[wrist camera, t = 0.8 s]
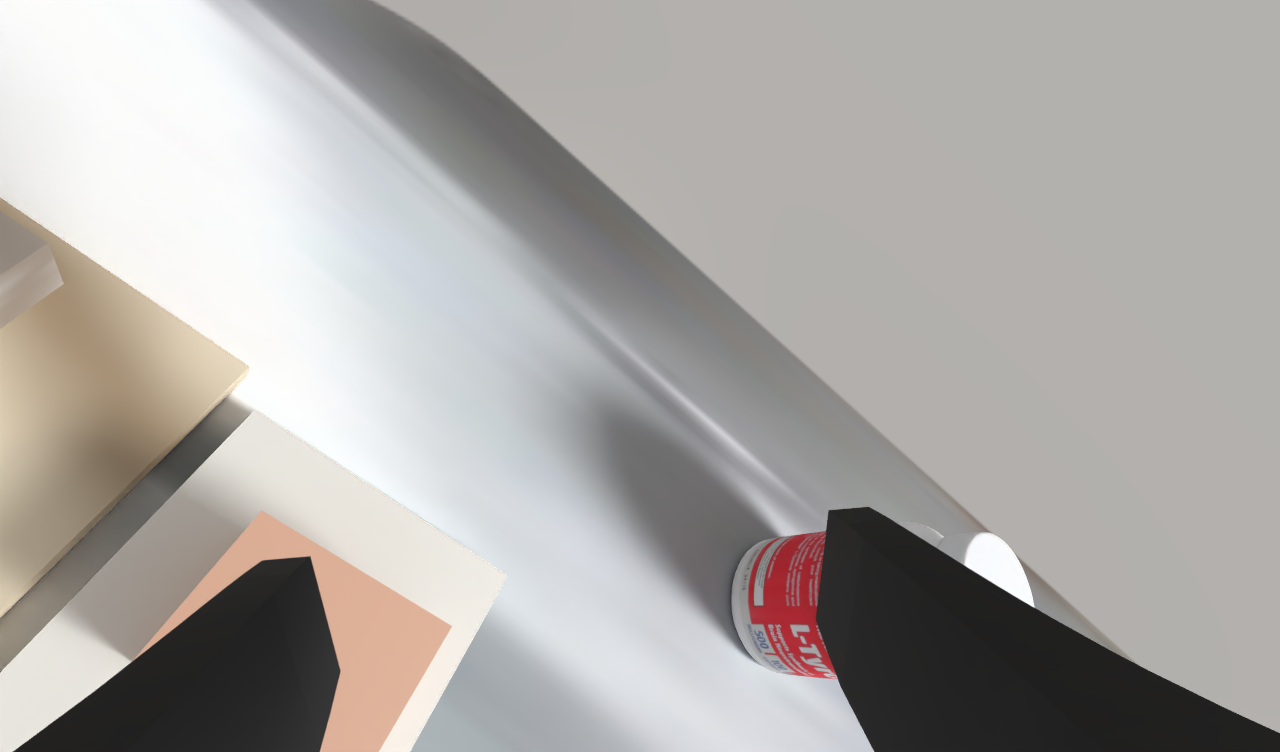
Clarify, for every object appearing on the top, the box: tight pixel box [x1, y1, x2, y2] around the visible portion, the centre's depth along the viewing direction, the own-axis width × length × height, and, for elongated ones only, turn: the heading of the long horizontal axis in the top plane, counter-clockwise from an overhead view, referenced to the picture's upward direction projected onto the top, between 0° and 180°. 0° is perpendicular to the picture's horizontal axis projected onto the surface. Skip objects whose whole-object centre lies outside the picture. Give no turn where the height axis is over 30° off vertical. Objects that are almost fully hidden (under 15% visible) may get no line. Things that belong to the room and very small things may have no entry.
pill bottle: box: [731, 522, 1034, 679], centre depth 26 cm, size 6×6×11 cm
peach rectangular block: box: [134, 511, 452, 752], centre depth 16 cm, size 4×6×4 cm
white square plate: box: [0, 410, 508, 752], centre depth 19 cm, size 10×10×1 cm
